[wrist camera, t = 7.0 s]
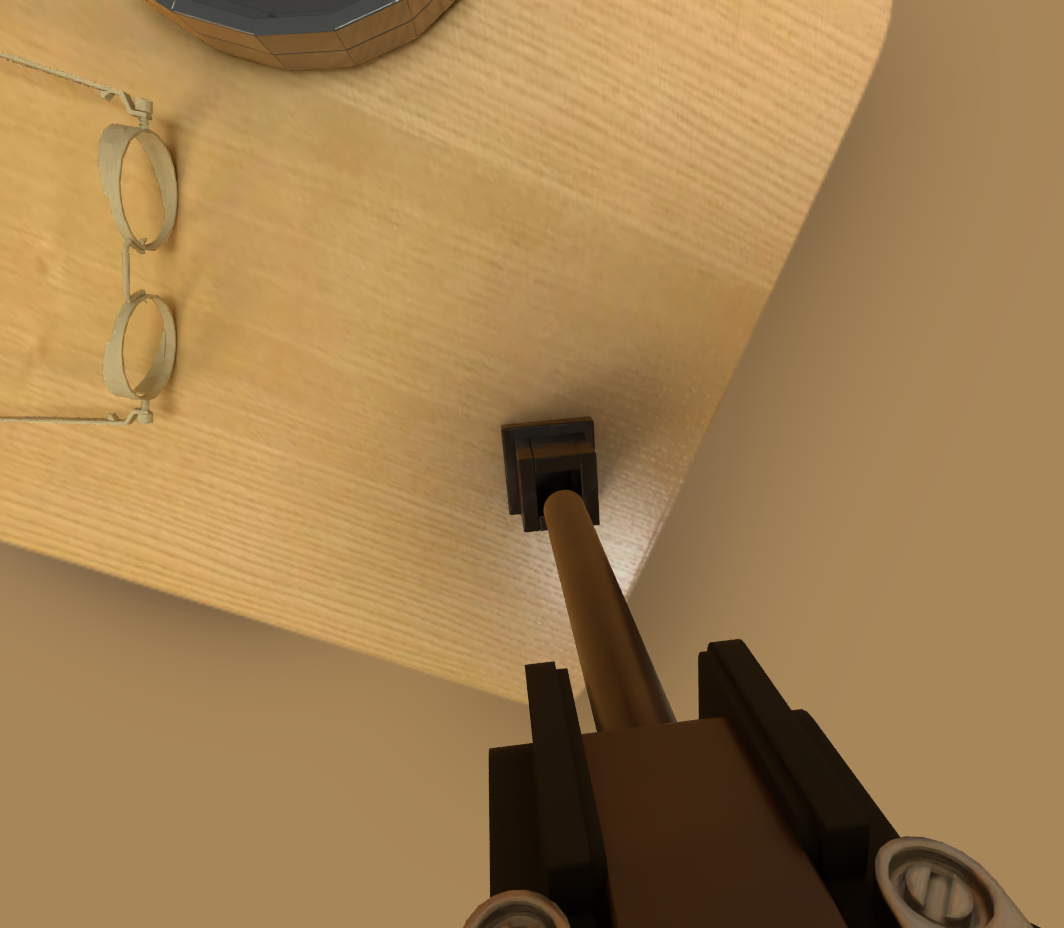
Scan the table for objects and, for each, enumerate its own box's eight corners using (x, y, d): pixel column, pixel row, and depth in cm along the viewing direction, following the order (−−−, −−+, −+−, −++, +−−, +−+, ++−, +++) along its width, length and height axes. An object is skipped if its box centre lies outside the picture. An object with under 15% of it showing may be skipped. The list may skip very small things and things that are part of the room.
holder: (590, 416, 35) (608, 439, 30) (594, 500, 36) (612, 535, 31) (500, 424, 34) (504, 449, 30) (508, 509, 36) (513, 545, 31)
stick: (596, 471, 21) (897, 1008, 6) (600, 537, 22) (875, 1169, 6) (525, 479, 21) (636, 1046, 6) (531, 544, 22) (645, 1206, 6)
